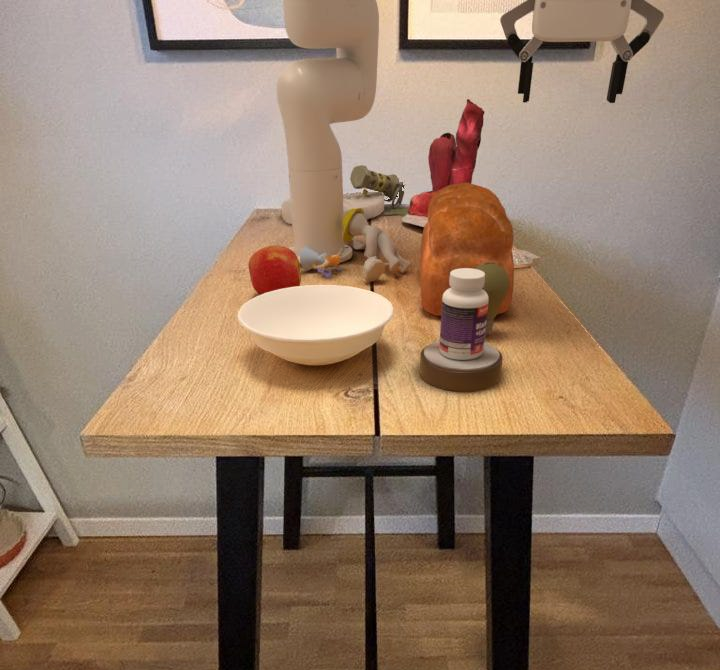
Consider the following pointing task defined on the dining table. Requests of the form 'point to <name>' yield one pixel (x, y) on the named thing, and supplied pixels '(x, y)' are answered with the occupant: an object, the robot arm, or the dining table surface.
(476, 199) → the bread
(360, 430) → the dining table surface
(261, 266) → the apple
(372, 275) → the figurine
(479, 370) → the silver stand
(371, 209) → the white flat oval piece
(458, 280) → the pill bottle
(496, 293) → the light bulb
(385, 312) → the bowl
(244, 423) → the dining table surface
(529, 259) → the stamped metal plate
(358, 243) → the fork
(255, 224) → the dining table surface
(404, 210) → the map
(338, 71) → the robot arm
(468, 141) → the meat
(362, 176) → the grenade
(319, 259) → the fairy figurine
